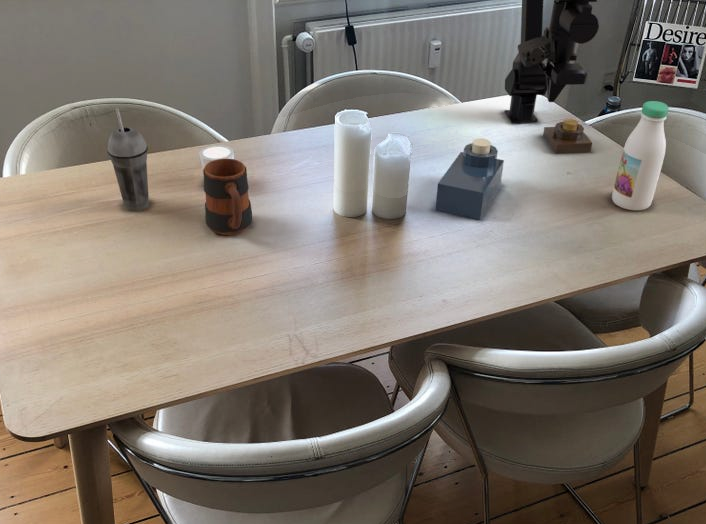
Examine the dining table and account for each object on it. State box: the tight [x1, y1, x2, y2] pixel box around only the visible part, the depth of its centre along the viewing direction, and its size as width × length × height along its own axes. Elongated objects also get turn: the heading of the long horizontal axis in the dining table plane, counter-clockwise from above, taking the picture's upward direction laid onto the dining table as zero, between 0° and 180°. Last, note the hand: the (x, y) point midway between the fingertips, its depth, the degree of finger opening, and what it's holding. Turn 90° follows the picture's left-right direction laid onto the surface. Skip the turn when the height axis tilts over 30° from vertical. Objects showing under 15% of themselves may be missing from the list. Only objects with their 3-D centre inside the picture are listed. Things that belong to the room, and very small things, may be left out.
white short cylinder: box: [471, 137, 492, 155], centre depth 164 cm, size 4×4×2 cm
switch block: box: [542, 121, 593, 155], centre depth 184 cm, size 9×8×4 cm
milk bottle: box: [611, 100, 670, 211], centre depth 159 cm, size 8×8×20 cm
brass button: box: [562, 118, 579, 131], centre depth 183 cm, size 3×3×2 cm
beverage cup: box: [107, 107, 150, 212], centre depth 154 cm, size 7×7×20 cm
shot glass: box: [198, 144, 235, 170], centre depth 166 cm, size 7×7×7 cm
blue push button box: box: [434, 142, 505, 221], centre depth 163 cm, size 16×9×8 cm, turn 157°
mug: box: [202, 158, 253, 236], centre depth 151 cm, size 9×12×12 cm
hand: (550, 101), depth 176 cm, fingers closed
